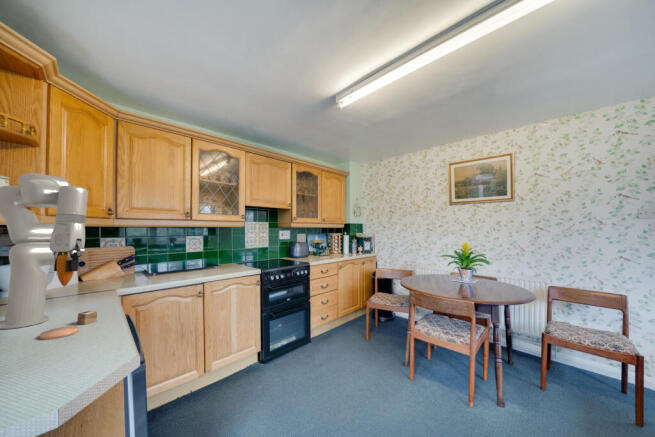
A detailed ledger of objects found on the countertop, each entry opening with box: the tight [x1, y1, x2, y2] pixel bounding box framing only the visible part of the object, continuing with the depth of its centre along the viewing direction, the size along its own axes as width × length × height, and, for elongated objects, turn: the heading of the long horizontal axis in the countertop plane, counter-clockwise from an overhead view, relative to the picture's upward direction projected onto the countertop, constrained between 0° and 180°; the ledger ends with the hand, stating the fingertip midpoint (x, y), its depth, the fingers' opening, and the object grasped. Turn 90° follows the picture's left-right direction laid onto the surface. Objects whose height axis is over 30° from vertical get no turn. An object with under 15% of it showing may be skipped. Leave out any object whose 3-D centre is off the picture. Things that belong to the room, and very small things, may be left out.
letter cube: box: [76, 310, 98, 326], centre depth 96 cm, size 4×4×4 cm
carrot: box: [56, 252, 75, 287], centre depth 87 cm, size 5×5×15 cm
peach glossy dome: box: [39, 325, 79, 341], centre depth 85 cm, size 9×9×1 cm
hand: (65, 270), depth 86 cm, fingers closed on carrot, 5 cm apart
